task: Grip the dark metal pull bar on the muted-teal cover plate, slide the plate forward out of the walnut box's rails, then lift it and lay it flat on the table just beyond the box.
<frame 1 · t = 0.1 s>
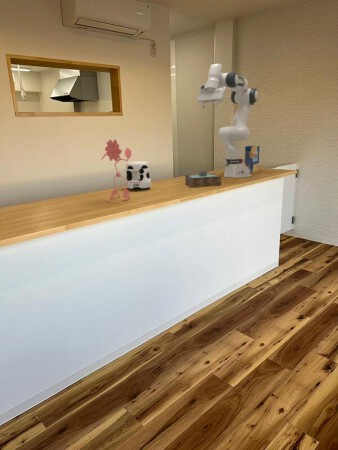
hand: (208, 107, 225), 52 cm above the counter, tool tilted 20°, fingers open, 8 cm apart
figurine: (116, 200, 194), on the counter
cover plate: (202, 177, 234), point 5 cm above the counter, touching walnut box
milk container: (138, 189, 227), on the counter
walnut box: (202, 184, 235), on the counter
beverage box: (251, 172, 289), on the counter
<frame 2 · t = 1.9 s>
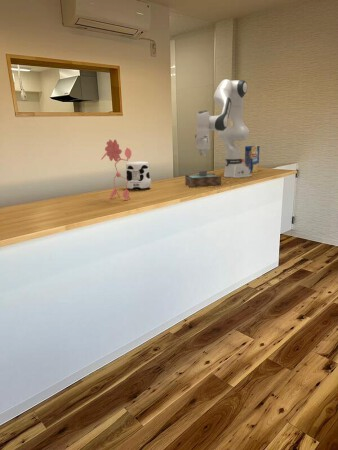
hand: (202, 156, 229), 20 cm above the counter, tool pointing down, fingers open, 8 cm apart
nothing on the counter moved.
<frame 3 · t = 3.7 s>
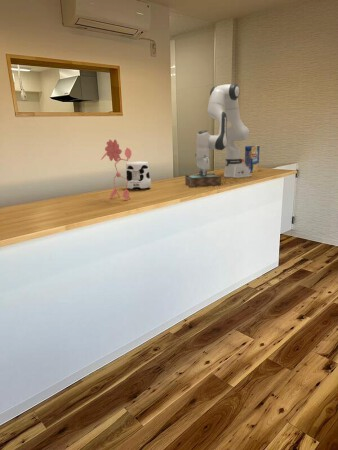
hand: (202, 174, 233), 7 cm above the counter, tool pointing down, fingers closed on cover plate, 2 cm apart
cover plate: (202, 177, 234), point 5 cm above the counter, touching gripper, walnut box
everything else where it was.
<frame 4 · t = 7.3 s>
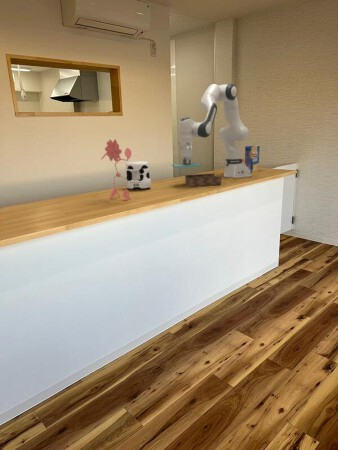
hand: (186, 163, 228), 16 cm above the counter, tool pointing down, fingers closed on cover plate, 2 cm apart
cover plate: (186, 166, 229), point 14 cm above the counter, touching gripper
everything else where it was.
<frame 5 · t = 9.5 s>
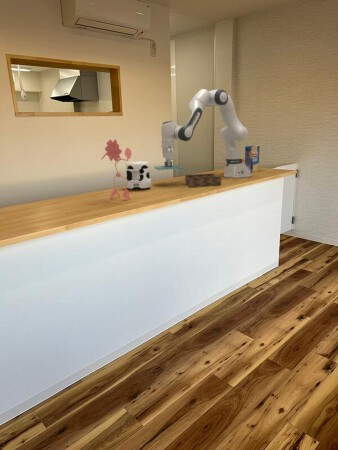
hand: (168, 165, 234), 14 cm above the counter, tool pointing down, fingers closed on cover plate, 2 cm apart
cover plate: (168, 168, 235), point 12 cm above the counter, touching gripper
everything else where it was.
when the fingers open (4 cm above the counter, at t = 11.0 s): cover plate drops 2 cm, on the counter.
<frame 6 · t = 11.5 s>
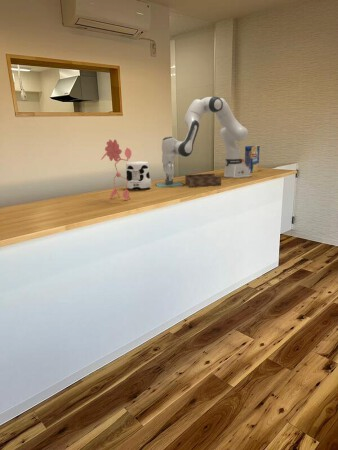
hand: (169, 180, 237), 4 cm above the counter, tool pointing down, fingers open, 7 cm apart
cover plate: (169, 185, 239), on the counter
everything else where it was.
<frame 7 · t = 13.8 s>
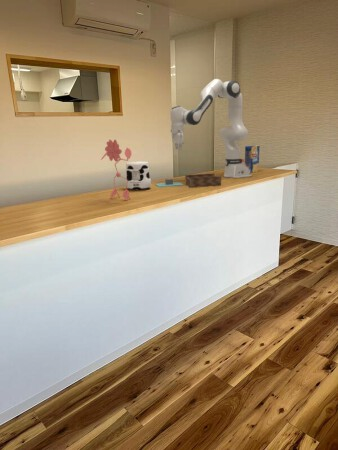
hand: (178, 149, 241), 24 cm above the counter, tool pointing down, fingers open, 8 cm apart
nothing on the counter moved.
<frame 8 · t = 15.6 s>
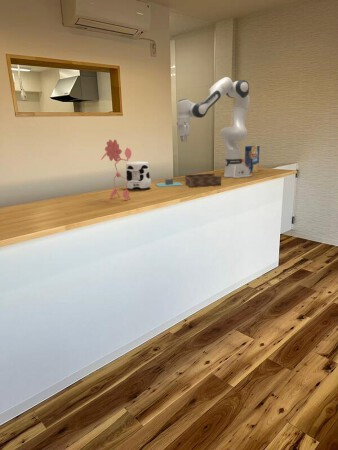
hand: (183, 141, 246), 29 cm above the counter, tool pointing down, fingers open, 8 cm apart
nothing on the counter moved.
at the end: cover plate touching counter; cover plate inside the target area (0.0 cm from its centre), on the counter; cover plate tilted 0° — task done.
